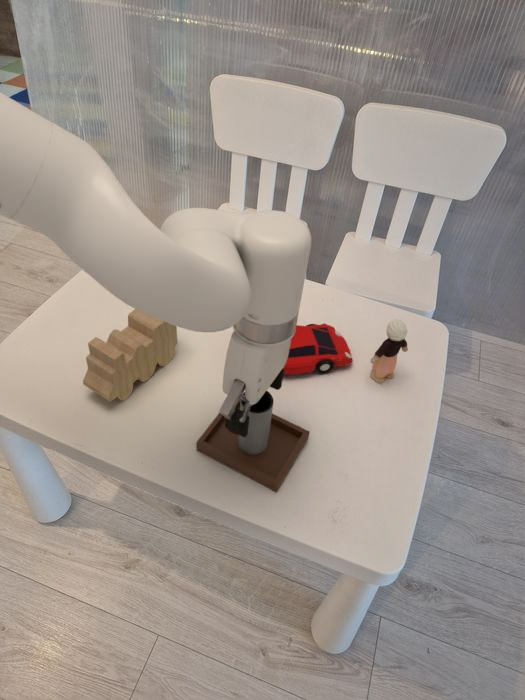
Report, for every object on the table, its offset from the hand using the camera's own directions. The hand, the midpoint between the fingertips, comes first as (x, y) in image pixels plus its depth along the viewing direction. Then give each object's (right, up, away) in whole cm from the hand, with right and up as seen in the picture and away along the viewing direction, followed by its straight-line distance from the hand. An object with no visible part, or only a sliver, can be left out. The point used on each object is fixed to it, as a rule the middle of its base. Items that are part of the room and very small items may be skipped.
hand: (254, 407), depth 73 cm
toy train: (-20, +4, +15) cm, 26 cm away
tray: (0, -7, +7) cm, 9 cm away
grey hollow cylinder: (0, -6, +6) cm, 9 cm away
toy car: (+7, +7, +20) cm, 23 cm away
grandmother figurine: (+22, +3, +19) cm, 29 cm away
